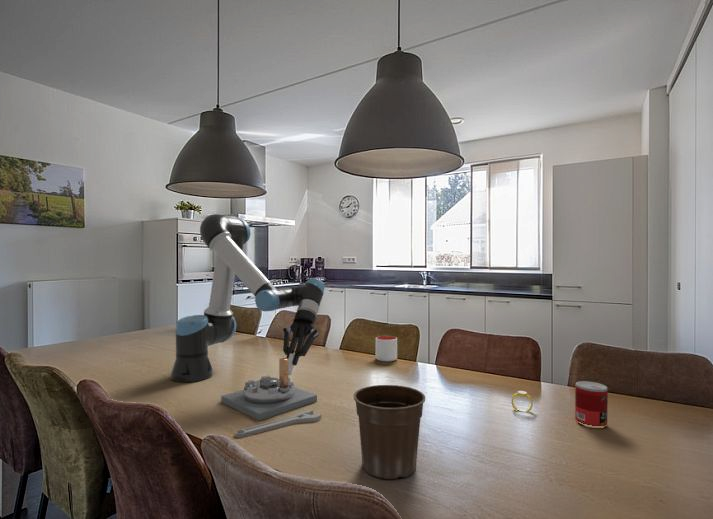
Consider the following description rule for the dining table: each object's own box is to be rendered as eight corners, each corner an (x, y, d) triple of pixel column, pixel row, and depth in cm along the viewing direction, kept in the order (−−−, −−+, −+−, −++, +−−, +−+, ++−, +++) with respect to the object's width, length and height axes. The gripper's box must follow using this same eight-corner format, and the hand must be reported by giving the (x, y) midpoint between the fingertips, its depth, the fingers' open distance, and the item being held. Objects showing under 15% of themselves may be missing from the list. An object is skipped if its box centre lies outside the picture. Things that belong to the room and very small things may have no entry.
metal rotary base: (233, 396, 132) (233, 356, 132) (272, 384, 145) (272, 347, 144) (267, 408, 122) (267, 365, 122) (305, 394, 134) (306, 355, 134)
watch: (531, 411, 126) (533, 392, 126) (531, 415, 123) (533, 395, 123) (511, 407, 128) (512, 388, 128) (510, 410, 126) (512, 391, 126)
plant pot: (364, 445, 103) (364, 381, 103) (429, 454, 98) (429, 387, 98) (343, 478, 87) (344, 403, 87) (419, 491, 83) (419, 412, 82)
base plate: (221, 401, 133) (221, 395, 133) (277, 386, 149) (277, 380, 149) (259, 420, 118) (259, 413, 118) (317, 401, 134) (317, 395, 134)
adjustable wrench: (236, 440, 106) (236, 434, 106) (231, 431, 112) (231, 425, 112) (323, 420, 119) (323, 414, 119) (314, 413, 124) (314, 407, 124)
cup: (400, 358, 190) (401, 337, 190) (390, 363, 181) (391, 340, 181) (382, 355, 195) (382, 334, 195) (371, 360, 187) (371, 338, 187)
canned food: (607, 431, 111) (607, 391, 111) (574, 425, 115) (574, 386, 115) (607, 422, 117) (607, 383, 117) (576, 416, 122) (576, 379, 122)
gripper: (325, 321, 150) (309, 380, 134) (292, 320, 153) (272, 377, 137) (320, 309, 145) (303, 368, 129) (286, 307, 148) (265, 365, 132)
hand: (287, 373), depth 133 cm, fingers closed
